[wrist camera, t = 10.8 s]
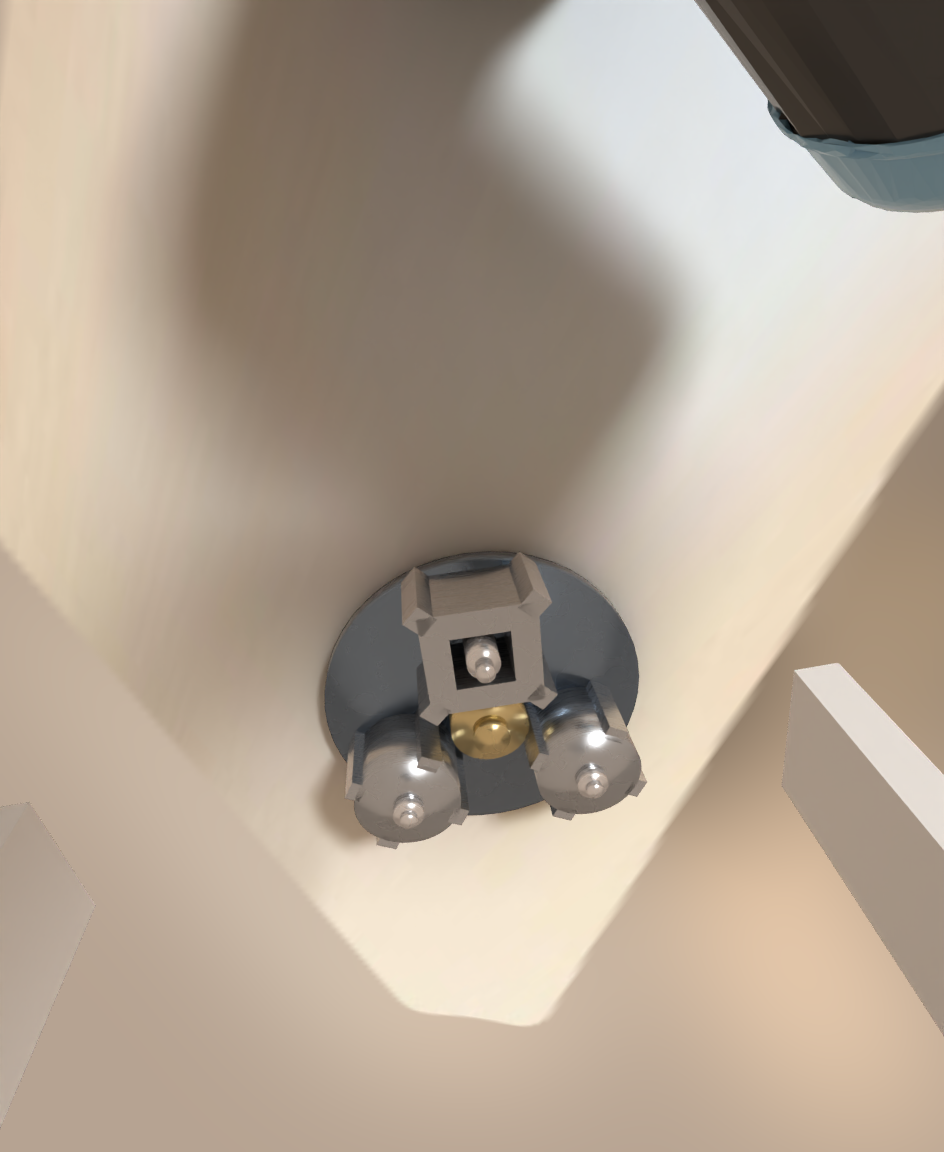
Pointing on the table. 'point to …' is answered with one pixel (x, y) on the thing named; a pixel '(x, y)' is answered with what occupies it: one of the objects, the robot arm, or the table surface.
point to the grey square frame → (476, 610)
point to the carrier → (484, 715)
